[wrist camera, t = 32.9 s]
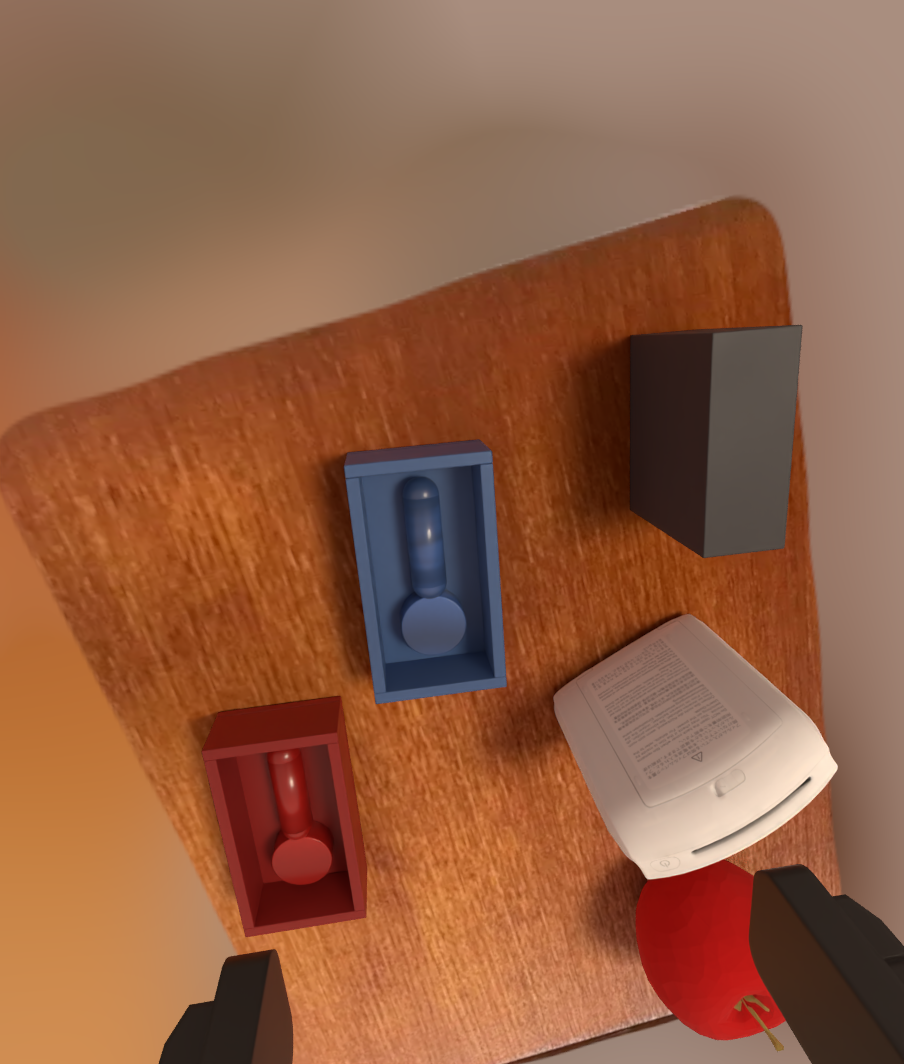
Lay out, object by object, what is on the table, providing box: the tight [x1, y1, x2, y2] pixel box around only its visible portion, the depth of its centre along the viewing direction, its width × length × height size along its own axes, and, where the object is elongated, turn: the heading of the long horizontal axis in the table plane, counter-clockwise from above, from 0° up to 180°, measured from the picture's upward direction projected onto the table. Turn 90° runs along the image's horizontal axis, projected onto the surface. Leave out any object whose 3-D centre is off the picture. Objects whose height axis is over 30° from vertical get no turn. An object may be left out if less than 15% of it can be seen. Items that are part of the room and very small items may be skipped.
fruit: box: [636, 859, 786, 1051], centre depth 37 cm, size 9×9×10 cm
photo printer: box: [553, 614, 838, 879], centre depth 31 cm, size 10×4×12 cm, turn 123°
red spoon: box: [267, 748, 334, 885], centre depth 35 cm, size 10×3×2 cm, turn 5°
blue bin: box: [344, 440, 507, 704], centre depth 31 cm, size 12×7×4 cm, turn 5°
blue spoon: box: [400, 476, 466, 656], centre depth 32 cm, size 10×3×2 cm, turn 5°
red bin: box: [202, 696, 367, 937], centre depth 35 cm, size 12×7×4 cm, turn 5°
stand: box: [630, 325, 802, 558], centre depth 29 cm, size 9×4×8 cm, turn 5°
